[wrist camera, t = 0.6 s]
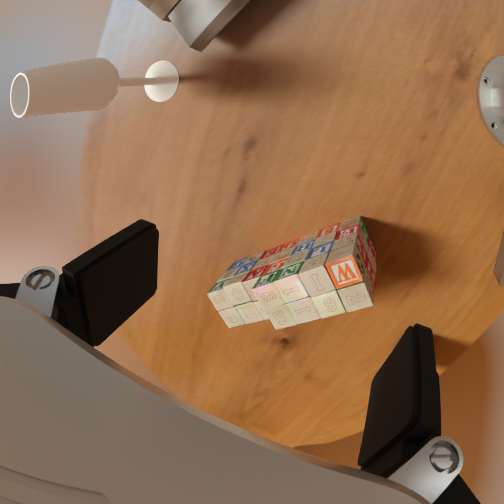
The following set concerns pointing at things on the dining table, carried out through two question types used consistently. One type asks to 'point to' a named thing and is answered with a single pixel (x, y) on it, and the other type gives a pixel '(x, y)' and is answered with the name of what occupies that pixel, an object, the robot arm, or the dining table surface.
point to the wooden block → (500, 264)
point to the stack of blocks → (301, 279)
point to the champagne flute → (84, 86)
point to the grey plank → (203, 19)
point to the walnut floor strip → (161, 7)
